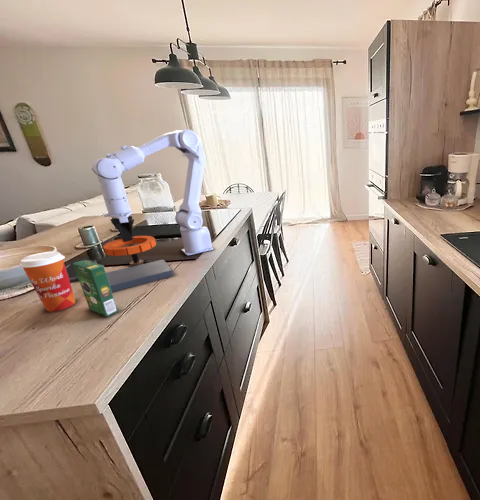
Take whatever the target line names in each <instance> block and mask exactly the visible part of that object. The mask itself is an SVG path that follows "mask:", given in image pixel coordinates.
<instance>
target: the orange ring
mask: <svg viewBox="0 0 480 500" xmlns="http://www.w3.org/2000/svg"><path fill="white" fill-rule="evenodd" d="M130 244H134V246H129V245H130ZM128 246H129V247H128ZM156 246H157V242H156V238H155V237H154V236H152V235H134V236H133V239H132V240H131V241H126V242H125V241H124V240H123V238H122V237H121V238H118V239H115V240H111V241H109V242H107V243H105V244H104V245H103V246H102V247H103V250H104V253H105V255H106V256H112V257H114V256H115V257H120V256H128V255H129V256H131V254H135V253H137V254H139V253H141V252H142V253H143V252H146V251H149V250H151V249H154V248H155V247H156Z"/></svg>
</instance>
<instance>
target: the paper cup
mask: <svg viewBox="0 0 480 500" xmlns="http://www.w3.org/2000/svg"><path fill="white" fill-rule="evenodd" d="M65 258H66V256H64V255H63V254H62V253H60V252H59V251H55V250H53V251H52V250H51V251H44V252H38V253H33V254H30V255H26V256H25V257H23V258H22V259H20V264H19V267H20V268H22V269H23V270H24V273H25V274H26V276H27V278H28V280H29V281H30V283H31V285H32V287H33V289H34V290H35V293H36V294H37V295H38V298H39V300H40V302H41V303H42V305H43V307H44V308H45V310H46V311H47V312H58V311H63V310H65V309H68V308H70V307H72V306H74V304H76V297H75V295H74V291H73V288H72V287H73V286H72V283H71V282H70V280H69V277H68V274H67V270H66V267H65V266H66V265H65V261H64V259H65Z"/></svg>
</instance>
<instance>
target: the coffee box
mask: <svg viewBox="0 0 480 500" xmlns="http://www.w3.org/2000/svg"><path fill="white" fill-rule="evenodd" d="M72 263H73V266H74V268H75V271H76V274H77V276H78V279H79V280H78V282H79V284H80V287H81V290H82V292H83V295H84V298H85V301H86V303H87V306H88V309H89V310H91V311H92V312H95V313H97V314H99V315H102V316H104V317H108V318H109V317H110V316H112V315H114V314H117V313H118V307H117V304H116V300H115V298H114V295H113V292H112V291H111V288H110V285H109V281H108V278H107V275H106V273H107V271H106V269H105V266H104V265H103V264H100V263H94V262H91V261H90V260H89V259H88V260H87V259H83V260H79V261H75V263H74V262H72Z"/></svg>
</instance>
